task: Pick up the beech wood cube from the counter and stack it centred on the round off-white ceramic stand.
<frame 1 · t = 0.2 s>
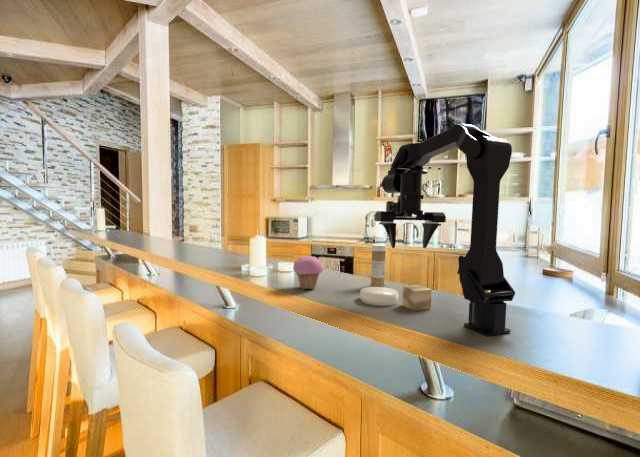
hand: (408, 248, 94), 14 cm above the counter, tool pointing down, fingers open, 9 cm apart
sprinkles bottle: (377, 287, 107), on the counter
cupcake: (307, 289, 103), on the counter
beech cube: (416, 307, 86), on the counter
ceramic stand: (379, 300, 91), on the counter
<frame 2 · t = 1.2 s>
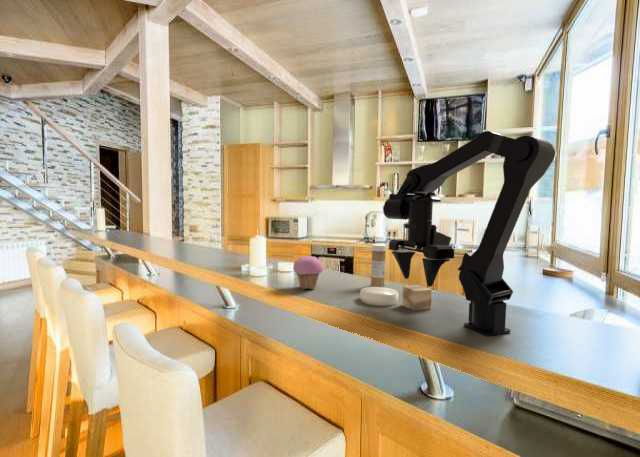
hand: (417, 282, 85), 6 cm above the counter, tool pointing down, fingers open, 9 cm apart
nothing on the counter moved.
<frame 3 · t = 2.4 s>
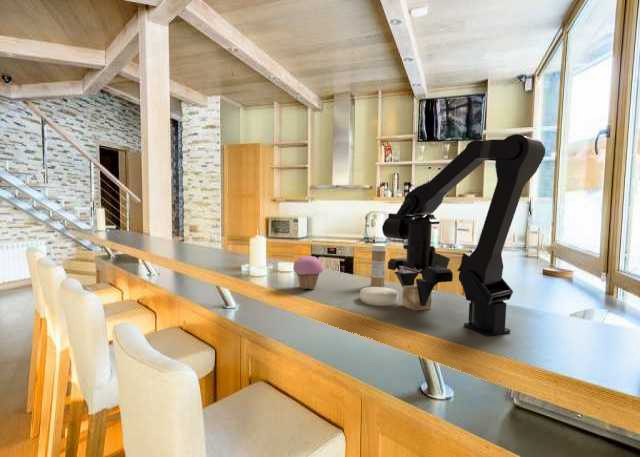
hand: (416, 302, 86), 1 cm above the counter, tool pointing down, fingers closed on beech cube, 5 cm apart
beech cube: (416, 306, 86), on the counter, touching gripper
everything else where it was.
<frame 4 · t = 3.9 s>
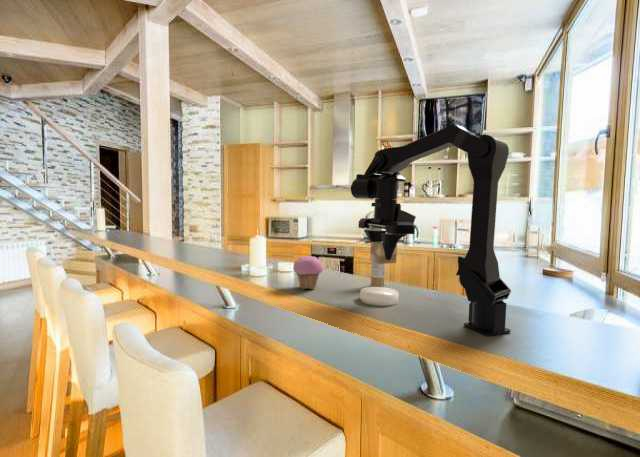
hand: (382, 257, 90), 12 cm above the counter, tool pointing down, fingers closed on beech cube, 5 cm apart
beech cube: (382, 261, 90), point 11 cm above the counter, touching gripper
everything else where it was.
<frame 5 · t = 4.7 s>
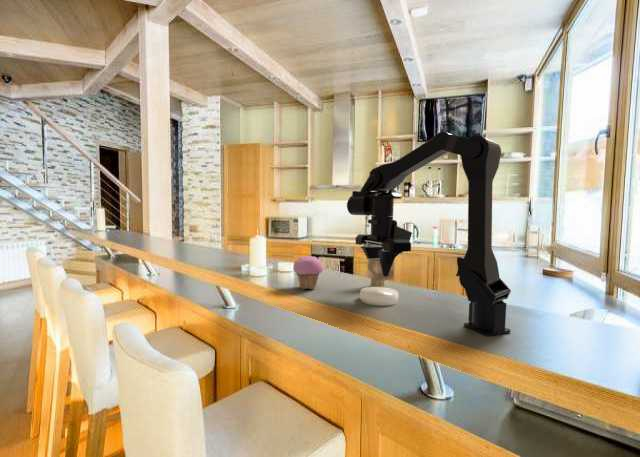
hand: (380, 274, 91), 7 cm above the counter, tool pointing down, fingers closed on beech cube, 5 cm apart
beech cube: (380, 278, 91), point 6 cm above the counter, touching gripper
everything else where it was.
when the fingers open (4 cm above the counter, at t = 5.5 s): beech cube stays where it is, resting on ceramic stand.
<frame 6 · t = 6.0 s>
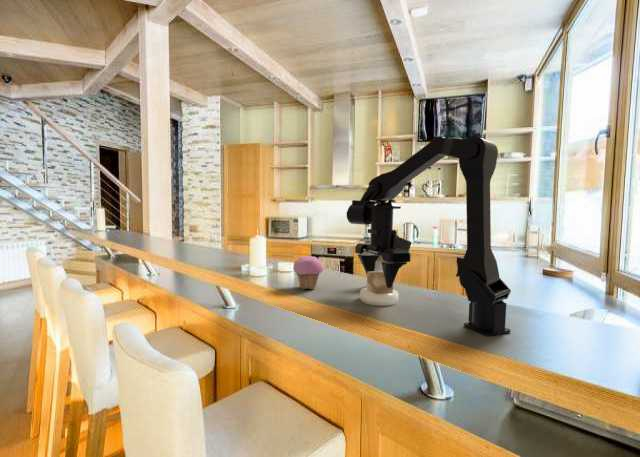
hand: (379, 283, 91), 4 cm above the counter, tool pointing down, fingers open, 9 cm apart
beech cube: (379, 291, 91), point 2 cm above the counter, touching ceramic stand
everything else where it was.
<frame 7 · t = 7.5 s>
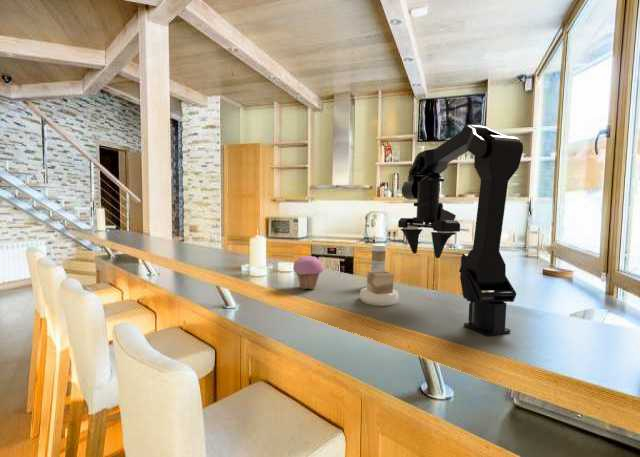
hand: (425, 255, 94), 12 cm above the counter, tool pointing down, fingers open, 9 cm apart
nothing on the counter moved.
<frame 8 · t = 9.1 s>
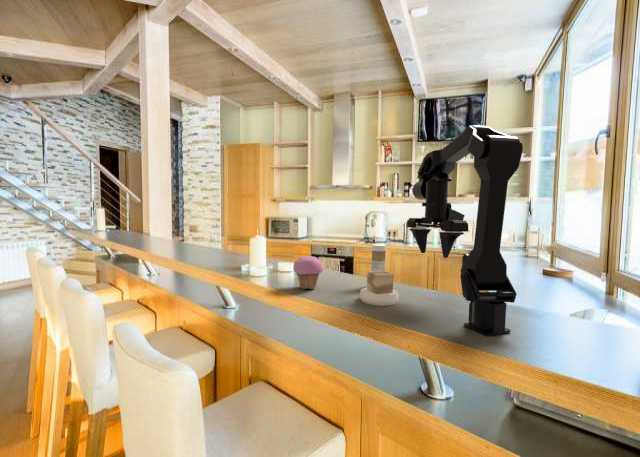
hand: (433, 255, 94), 12 cm above the counter, tool pointing down, fingers open, 9 cm apart
nothing on the counter moved.
at the end: beech cube inside the target area on the ceramic stand (0.0 cm from its centre), point 2.5 cm above the ceramic stand's base; beech cube tilted 0°; the gripper is holding nothing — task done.
